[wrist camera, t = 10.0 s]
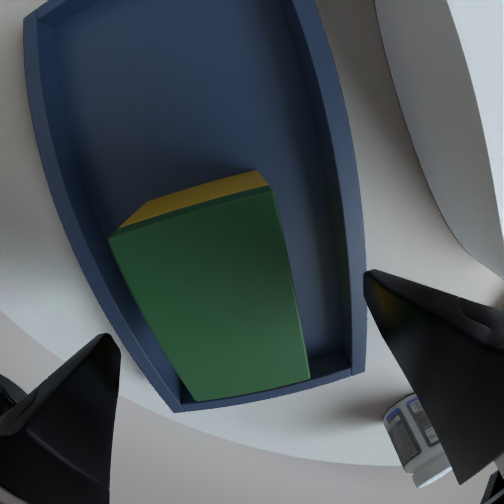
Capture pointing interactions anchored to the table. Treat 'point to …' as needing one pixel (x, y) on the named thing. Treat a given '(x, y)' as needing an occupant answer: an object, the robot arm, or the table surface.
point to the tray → (201, 151)
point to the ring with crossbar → (454, 109)
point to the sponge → (217, 286)
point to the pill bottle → (416, 441)
